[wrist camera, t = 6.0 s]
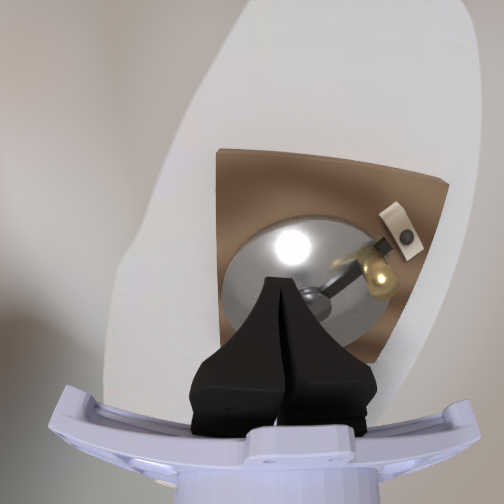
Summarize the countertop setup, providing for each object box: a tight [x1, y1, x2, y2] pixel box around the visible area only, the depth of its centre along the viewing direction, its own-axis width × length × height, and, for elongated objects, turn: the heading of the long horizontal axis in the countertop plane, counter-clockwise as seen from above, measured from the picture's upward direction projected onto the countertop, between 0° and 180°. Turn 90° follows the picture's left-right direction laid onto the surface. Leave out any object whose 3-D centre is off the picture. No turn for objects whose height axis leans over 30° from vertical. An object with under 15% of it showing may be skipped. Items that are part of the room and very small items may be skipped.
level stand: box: [216, 149, 449, 364], centre depth 21 cm, size 20×16×3 cm
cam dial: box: [221, 214, 399, 347], centre depth 19 cm, size 14×13×5 cm
